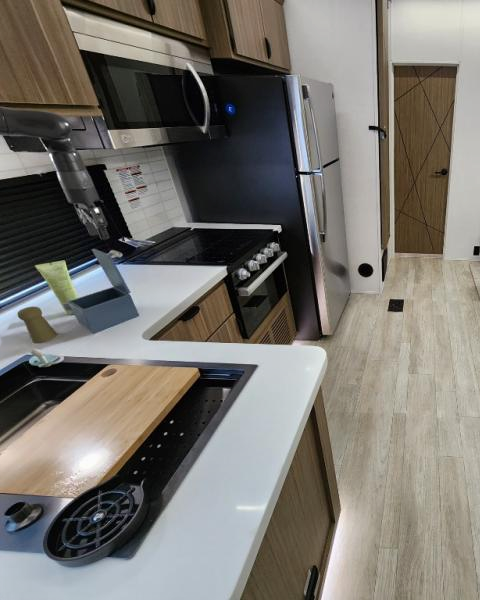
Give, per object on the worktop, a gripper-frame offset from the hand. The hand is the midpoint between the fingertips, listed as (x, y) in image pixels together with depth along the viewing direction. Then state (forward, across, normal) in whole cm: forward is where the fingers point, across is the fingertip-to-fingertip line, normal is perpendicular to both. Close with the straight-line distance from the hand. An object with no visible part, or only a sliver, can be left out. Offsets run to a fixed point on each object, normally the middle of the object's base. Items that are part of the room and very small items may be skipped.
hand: (100, 237), depth 110 cm
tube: (+29, -19, -11) cm, 36 cm away
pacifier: (+29, +13, -27) cm, 42 cm away
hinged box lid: (+12, -1, -1) cm, 12 cm away
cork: (+29, -6, -23) cm, 38 cm away
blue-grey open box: (+29, -1, -7) cm, 30 cm away
